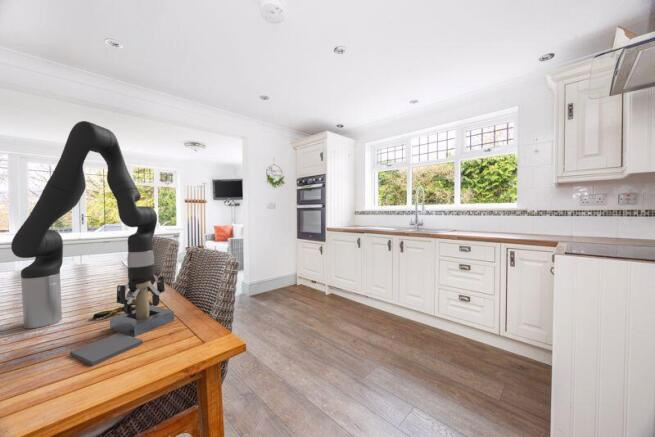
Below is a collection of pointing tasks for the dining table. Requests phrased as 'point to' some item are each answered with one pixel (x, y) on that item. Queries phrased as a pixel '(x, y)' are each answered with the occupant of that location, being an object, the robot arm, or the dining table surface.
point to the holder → (141, 321)
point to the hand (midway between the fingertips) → (142, 309)
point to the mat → (105, 348)
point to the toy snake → (115, 311)
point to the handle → (142, 301)
